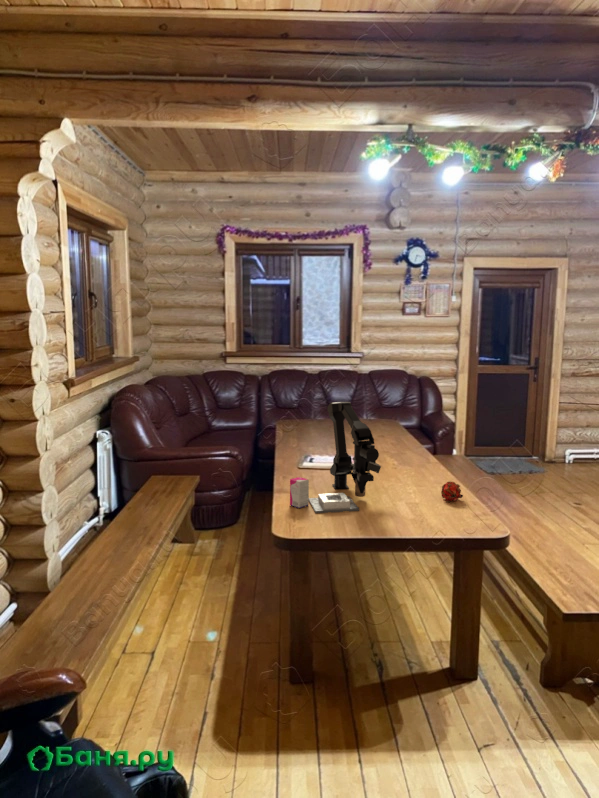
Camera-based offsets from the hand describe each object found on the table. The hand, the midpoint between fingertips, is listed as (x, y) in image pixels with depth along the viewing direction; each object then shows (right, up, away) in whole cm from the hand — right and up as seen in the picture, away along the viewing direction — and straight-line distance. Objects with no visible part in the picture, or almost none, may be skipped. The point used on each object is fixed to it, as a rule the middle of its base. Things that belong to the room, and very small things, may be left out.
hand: (360, 491), depth 239 cm
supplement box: (-26, -5, -7) cm, 27 cm away
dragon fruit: (+39, -4, +1) cm, 39 cm away
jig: (-12, -5, -6) cm, 14 cm away
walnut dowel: (0, -2, 0) cm, 2 cm away
